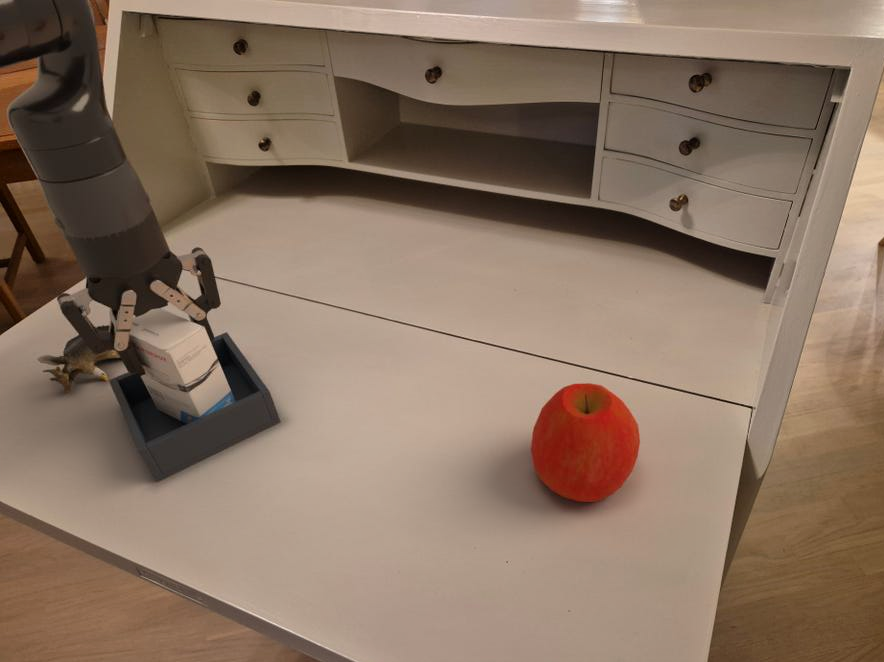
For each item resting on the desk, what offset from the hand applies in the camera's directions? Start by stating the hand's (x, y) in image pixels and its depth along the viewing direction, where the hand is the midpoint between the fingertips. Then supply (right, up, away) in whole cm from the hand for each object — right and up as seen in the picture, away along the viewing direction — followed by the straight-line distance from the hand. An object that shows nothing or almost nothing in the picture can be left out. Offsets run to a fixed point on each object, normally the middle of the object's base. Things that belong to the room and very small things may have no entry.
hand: (173, 357), depth 67 cm
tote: (0, -7, +6) cm, 9 cm away
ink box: (0, -6, +5) cm, 8 cm away
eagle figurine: (-15, -2, +12) cm, 20 cm away
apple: (+43, -12, -3) cm, 44 cm away
